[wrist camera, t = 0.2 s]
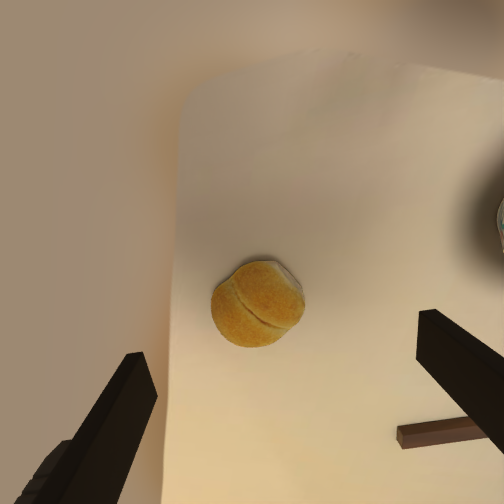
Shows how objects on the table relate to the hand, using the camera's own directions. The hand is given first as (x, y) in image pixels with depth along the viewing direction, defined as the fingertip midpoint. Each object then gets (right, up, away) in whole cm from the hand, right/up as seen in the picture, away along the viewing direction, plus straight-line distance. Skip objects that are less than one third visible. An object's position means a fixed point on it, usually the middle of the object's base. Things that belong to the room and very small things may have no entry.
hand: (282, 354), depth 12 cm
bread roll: (-1, 0, +14) cm, 14 cm away
